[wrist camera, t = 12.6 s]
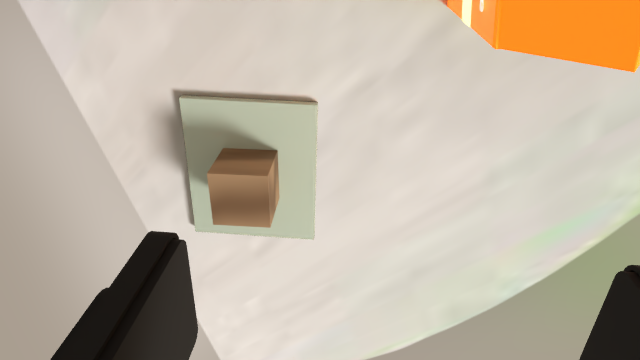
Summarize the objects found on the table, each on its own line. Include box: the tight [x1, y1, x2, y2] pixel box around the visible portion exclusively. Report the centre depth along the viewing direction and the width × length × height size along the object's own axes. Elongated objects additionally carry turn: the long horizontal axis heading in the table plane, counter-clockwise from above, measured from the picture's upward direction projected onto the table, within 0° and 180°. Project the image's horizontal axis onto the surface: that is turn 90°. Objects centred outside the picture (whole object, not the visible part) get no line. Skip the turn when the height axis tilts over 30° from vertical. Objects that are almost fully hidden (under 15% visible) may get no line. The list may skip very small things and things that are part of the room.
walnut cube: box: [207, 148, 280, 228], centre depth 41 cm, size 5×5×5 cm
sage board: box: [179, 95, 318, 240], centre depth 43 cm, size 14×12×1 cm
